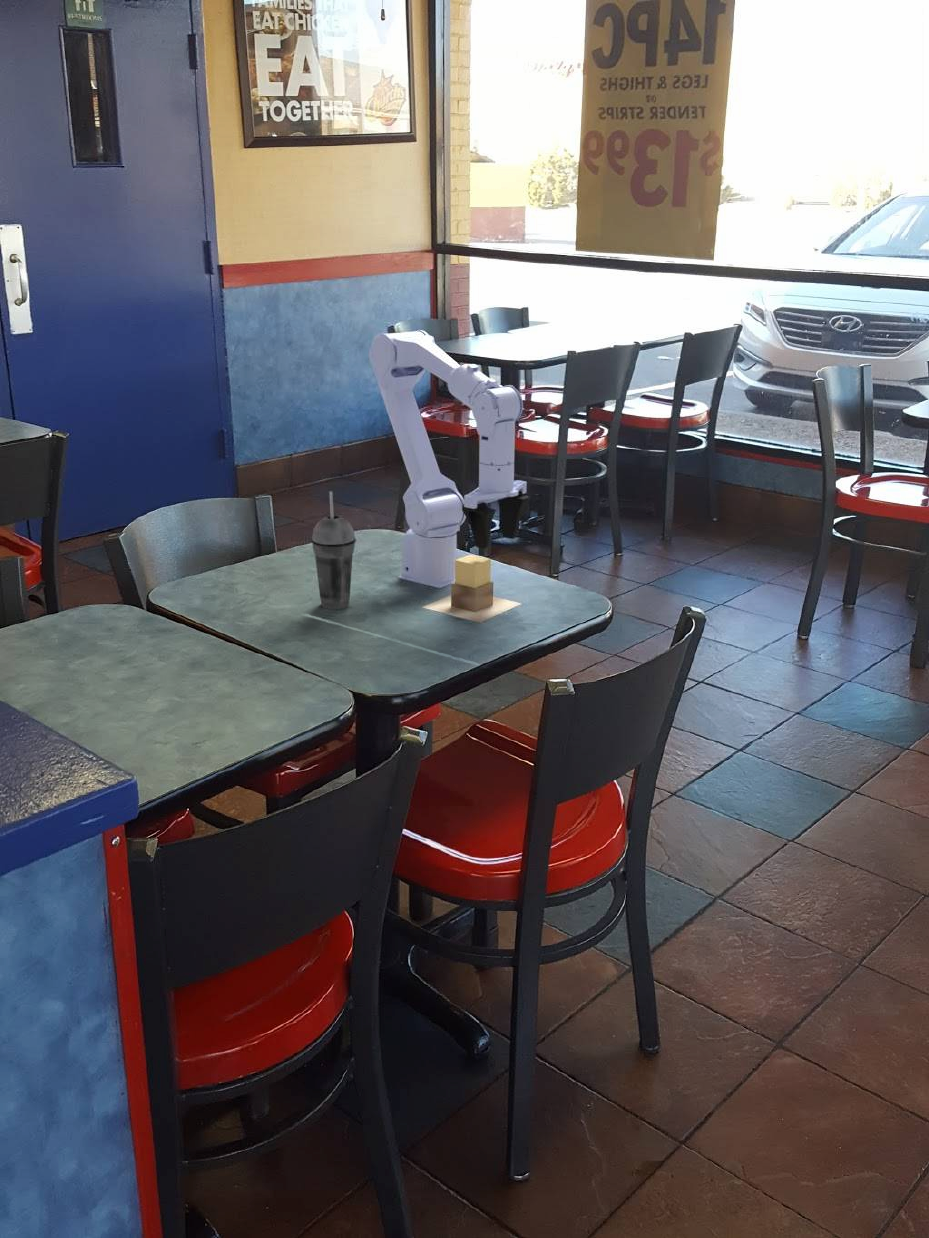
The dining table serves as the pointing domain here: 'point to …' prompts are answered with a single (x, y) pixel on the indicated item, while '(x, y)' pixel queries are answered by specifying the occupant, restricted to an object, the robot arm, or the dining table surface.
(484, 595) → the walnut block
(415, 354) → the robot arm
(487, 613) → the build board
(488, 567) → the ochre block
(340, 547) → the beverage cup
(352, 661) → the dining table surface
